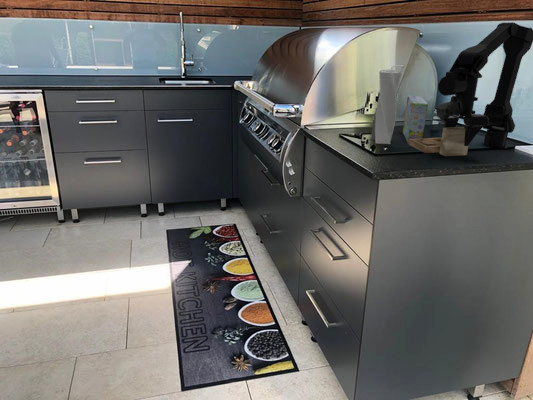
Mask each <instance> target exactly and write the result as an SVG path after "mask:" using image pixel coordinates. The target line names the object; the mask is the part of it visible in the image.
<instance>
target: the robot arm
mask: <svg viewBox="0 0 533 400" xmlns="http://www.w3.org/2000/svg"><path fill="white" fill-rule="evenodd" d="M532 45H533V28H532V27H527V26H524V25H523V26H522V25H519V24H518V23H516V22H513V21H512V22H509V21H508V22H501V23H498V24H497V26H496V28H495V29H494V30H492V31H491V32H490V33H488V35H487V36H486V37H484V38H483V39H482V40H481V41H480V42H479V43H477V44H475V45H473V46H470V47H467V48H464V49H463V50H462V51H460V52H459V54H458V56H456V59H455V61H454V62H453V64H452V66H451V68H450V69H449V70H448V71H446V72H445V76H443V77H442V78H441V79H440V80H439V82H438V84H437V89H438V92H439V93H440V94H441V95H442V96H445V97H447V96H450V100H449V101H447V102H444V103H441V104H439V105H437V106H436V107H435V111H436V112H435V113H436V116H437V118H438V119H440V120H441V121H442V122H443V124H444V128H449V127H457V125H458V122H459V120H462V121H463V124H462V127H464V128H465V139H464V146H468V147H469V145H470V144H471V143H472V141H473V140H474V139H475V137H476V136H477V134H478V133H479V132H480V131H481V130H482V129H484V130H485V129H486V133H485V134H484V139H483V146H485V147H487V148H488V147H489V148H490V147H491V148H498V149H499V148H500V149H503V150H509V146H506V145H507V140H508V135H509V133H510V134H511V133H513V132H514V131H515V127H516V124H515V122H514V119H513V110H514V109H513V107H512V103H511V100H512V95H513V91H514V88H515V85H516V80H517V77H518V74H519V69H520V66H521V62H522V59H523V57H524V56H525V55H526V54H527V52H529V51H530V50H531V49H532V48H531V47H532ZM500 46H502V48H503V49H502V50H503V51H504V54H505V57H504V61H503V64H502V68H501V71H500V76H499V79H498V84H497V87H496V91H495V95H494V98H493V100H492V101H491V102H490V103H487V104H486V105H485V106H484V107H485V108H484V112H483V114H481V113H476V110H475V109H474V105H475V102H478V98H479V97H478V96H476V93H477V87H478V83H479V79H482V78H483V75H482V73H480V71H481V70H482V69H484V68H485V66H486V65H487V64H488V62H489V56H491V55H492V54H493V53H494V52H495V51H496V50H497V49H498V48H500ZM473 109H474V110H473Z"/></svg>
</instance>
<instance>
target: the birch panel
mask: <svg viewBox="0 0 533 400" xmlns="http://www.w3.org/2000/svg"><path fill="white" fill-rule="evenodd" d="M441 134H442V135H441V138H442V140H441V147H440V152H438V153H439V154H440V155H442V156H443V157H454V156H455V157H456V156H467V155H468V150H469V145H468V146H464V139H465V128H464V127H463V126H456V127H449V128H445V127H443V128H442V133H441Z"/></svg>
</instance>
